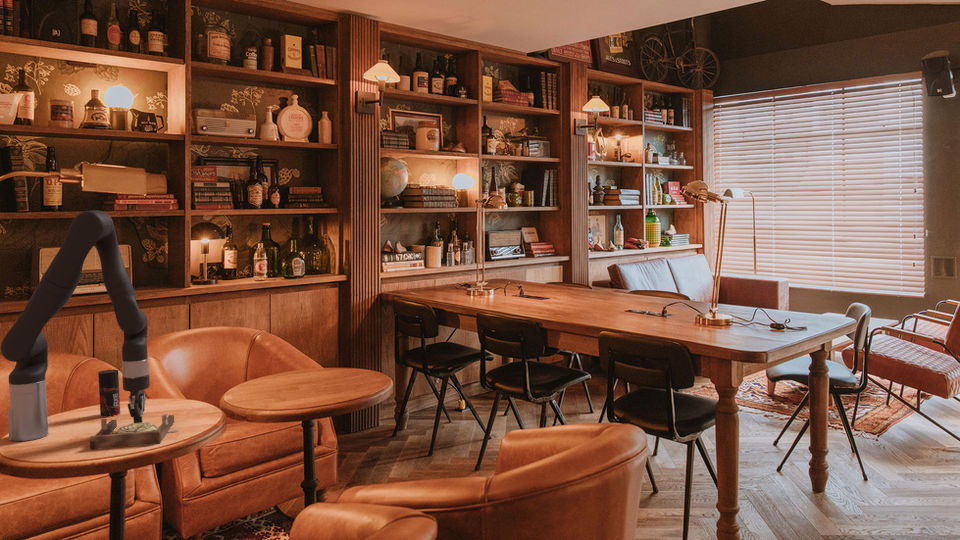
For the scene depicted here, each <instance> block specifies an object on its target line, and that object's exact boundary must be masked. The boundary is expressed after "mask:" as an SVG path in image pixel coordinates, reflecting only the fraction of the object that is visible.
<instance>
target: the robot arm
mask: <svg viewBox="0 0 960 540" xmlns="http://www.w3.org/2000/svg"><path fill="white" fill-rule="evenodd" d="M113 221H114V220H113V218H112V217H111V215H109V213H107V212H105V211H103V210H97V209H96V210H95V209H93V210H85V211H82V212H79V213H78V214H77V215H76V216H75V217H74V218H73V220H72V222H71V223H70V226H69V228H68V231H67V233H66V235H65V237H64V240H63V242H62V244H61V246H60V248H59V250H58V251H57V253H56V254H55V256H54V258H53V259H52V261H51V262H50V264H49V266H48V267H47V269H46V271H45V272H44V273H43V275H42V277H41V278H40V280H39V282H38V284H37V286H36V287H35V290H34V292H33V294H32V295H31V297H30V298H29V299H28V301H27V302H26V305H25V307H24V309H23V310H22V312H21V314H20V315H19V317H18V318H17V320H16V321H15V322H14V324H13V325H12V326H11V328H10V329H9V330H8V332H7V333H6V334H5V335H4V337H3V338H2V341H1V344H0V352H1V355H2V356H3V358H4V359H5V360H7V361H8V362H13V363H15V365H14V368H13V369H12V370H11V372H9V375H8V388H9V389H8V392H9V407H10V408H8V409H7V423H8V424H7V425H8V438H9V439H8V440H9V441H15V442H17V441H18V442H22V441H23V442H24V441H31V440H37V439H40V438H44V437H46V436H48V435H49V423H48V422H49V421H48V405H47V403H48V402H47V401H48V400H47V387H46V386H47V383H46V374H47V370H48V364H49V363H48V361H49V360H48V359H49V356H48V355H49V349H48V339H47V337H46V335H45V334H44V332H43V331H42V330H43V329H44V328H45V326H46V325H47V323H48V322H49V321H50V320H52V318H53V317H54V316H55V315H57V313H58V312H60V311H61V309H63V308H64V307H65V305H66V304H67V303H68V302H69V300H70V299H71V297H72V295H73V294H74V292H75V290H76V288H77V287H78V285H79V283H80V280H81V277H82V276H81V275H82V273H83V267H84V263H85V260H86V259H87V256H88V254H89V253H90V251H92V249H93V248H94V247H95V249H96V252H97V254H98V258H99V260H100V267H101V275H102V280H103V284H104V287H105V289H106V292H107V294H108V297H109V300H110V302H111V303H112V306H113V310H114V315H115V319H116V321H117V325H118V326H119V328H120V329H121V331H122V332H123V343H122V345H121V355H122V356H121V357H122V359H121V360H122V365H121V375H122V378H121V379H122V380H121V381H122V390H123V391H125V392H130V393H129V396H128V402H129V403H128V404H127V409H128V413H129V414H130V415H129V416H130V417H131V418H133V423H144V421H143V415H144V412H145V408H146V407H145V406H146V399H147V394H146V393H145V392H144V390H147V389H149V388H150V386H151V384H150V383H151V380H150V364H149V358H148V357H149V356H148V344H147V341H148V340H147V339H148V327H149V326H148V317H147V315H146V314H145V313H144V311H142V310H140V308H139V306H138V304H137V295H136V291H135V289H134V286H133V283H132V281H131V279H130V277H129V275H128V271H127V269H126V267H125V264H124V260H123V258H122V254H121V250H120V246H119V243H118V238H117V233H116V228H115V225H114V222H113Z"/></svg>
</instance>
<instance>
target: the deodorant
mask: <svg viewBox="0 0 960 540" xmlns="http://www.w3.org/2000/svg"><path fill="white" fill-rule="evenodd" d="M97 373H98V392H99V413H100V414H99V415H101V416H111V417H115V416H114V415H116V416H119V415H120V414H121V404H120V403H121V402H120V379H119V369H106V370H100V371H98V372H97ZM118 414H119V415H118ZM101 416H100V417H101Z"/></svg>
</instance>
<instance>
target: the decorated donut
mask: <svg viewBox="0 0 960 540" xmlns="http://www.w3.org/2000/svg"><path fill="white" fill-rule="evenodd" d="M157 429H158V428H157V425H156V424H153V423H150V422H143V423H134V422H133V423H129V424H126V425H124V426H121V427H119V428H118V429H117V432H116V434H122V433H134V432H146V431H158V430H157Z"/></svg>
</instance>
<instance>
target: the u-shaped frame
mask: <svg viewBox="0 0 960 540" xmlns="http://www.w3.org/2000/svg"><path fill="white" fill-rule="evenodd" d="M117 423H118V422H117V419H110V421H108V422H107V418H102V419H101V420H100V427H101V428H100V430H99V431H98V432H97V433H96V434H95V435H91V436H90V437H89V450H90V449H91V450H100V449H99V448H102V449H113V448H121V447H124V448H125V447H133V446H146V445H156V444H157V445H159V444H161V443H162V441H163V439H164V438H165V437H166V435H167V434H169V432H171V433H178V432H177V430H178V429H171V428H172V427H173V425H174V424H173V423H175V415H174V414H171V415H170V414H169V415H168V413H165V414H162V415H161V425H160V426H159V429H158V430H157V431H146V432H134V433H122V434H117V433H113V432H114V429H115V428H116V427H118V424H117ZM171 426H172V427H171ZM170 427H171V428H170ZM116 429H117V428H116ZM116 429H115V430H116Z"/></svg>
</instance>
